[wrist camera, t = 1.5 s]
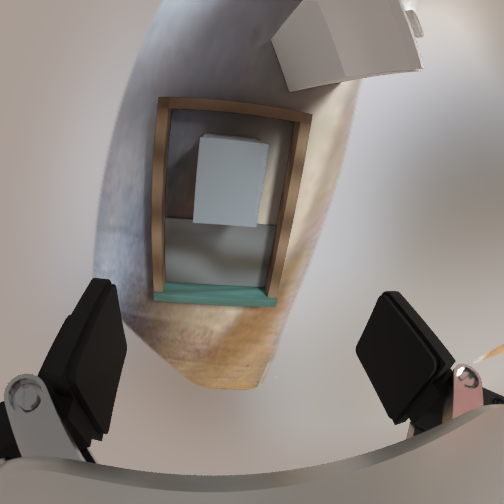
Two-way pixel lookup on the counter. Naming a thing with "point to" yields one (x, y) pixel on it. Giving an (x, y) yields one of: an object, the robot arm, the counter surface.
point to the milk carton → (346, 41)
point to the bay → (222, 236)
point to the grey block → (229, 180)
